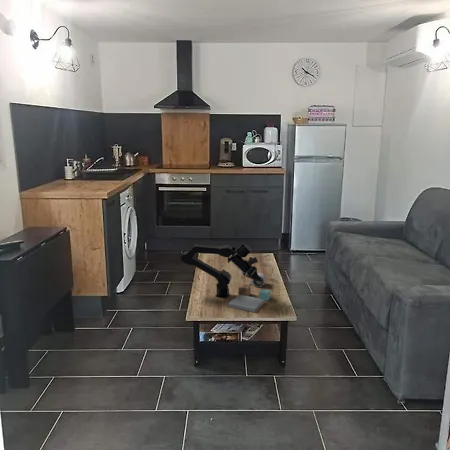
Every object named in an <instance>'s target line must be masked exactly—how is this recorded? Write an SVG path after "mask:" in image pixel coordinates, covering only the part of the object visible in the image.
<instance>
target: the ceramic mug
mask: <svg viewBox="0 0 450 450" xmlns="http://www.w3.org/2000/svg"><path fill="white" fill-rule="evenodd" d="M257 274H258V275H259V277H260V278H261V280H262V281H261V282H260V281H255V280H253V279H251V280H249V281H248V285H253V286H254V287H255V288H262V287H263V286H264V285H265V282H266V281H267V276H266V274H264V273H262V272H257Z"/></svg>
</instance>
